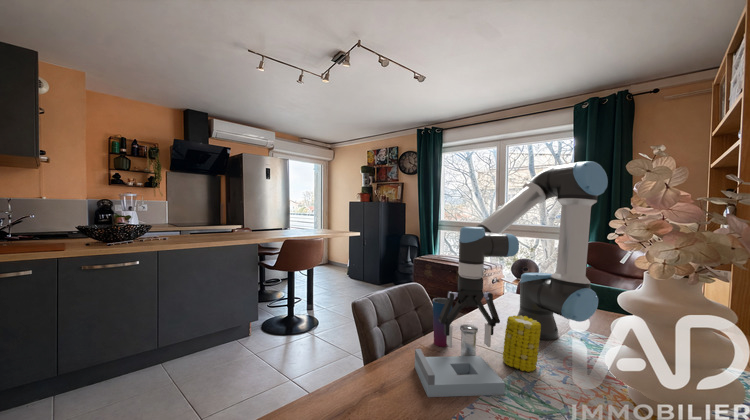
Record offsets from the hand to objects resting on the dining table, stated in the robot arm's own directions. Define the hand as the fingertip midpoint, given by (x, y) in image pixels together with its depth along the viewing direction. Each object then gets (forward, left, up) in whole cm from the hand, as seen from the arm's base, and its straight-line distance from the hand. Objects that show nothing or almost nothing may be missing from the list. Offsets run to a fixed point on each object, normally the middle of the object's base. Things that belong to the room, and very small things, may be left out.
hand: (468, 345), depth 94 cm
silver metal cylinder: (0, 0, -4) cm, 4 cm away
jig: (+8, +11, -4) cm, 14 cm away
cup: (+5, -11, -5) cm, 13 cm away
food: (-15, +4, -5) cm, 16 cm away
